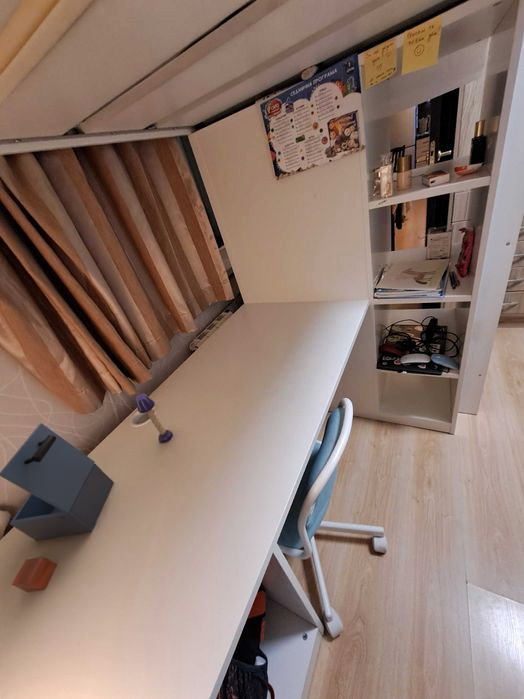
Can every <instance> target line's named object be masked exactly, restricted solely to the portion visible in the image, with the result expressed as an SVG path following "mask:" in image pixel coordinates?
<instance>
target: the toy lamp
mask: <svg viewBox="0 0 524 699" xmlns="http://www.w3.org/2000/svg"><path fill="white" fill-rule="evenodd" d="M134 401H135V405H136V408H137V411H138V413H139V414H146V415H147V416H148V417H149V419H150V421H151V423H152V424H153V425H154V427H155V428H156V430H157V432H158V433H159V434H158V442H160V443H161V444H162V443H167V442H168V441H170V440H171V439H172V437H173V432H172V431H171V430H170V429H165V428H164V426H163V425H162V423H161V421H160V420H159V418H158V417H157V414H155V412H154V410H153V409H154V407H155V404H156V402H155V401H154V400H153V399H152V398H151V397H150V396H148V395H147V394H145V393H140V394H139V395H137V396H136V397H135V400H134Z"/></svg>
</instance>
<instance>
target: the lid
mask: <svg viewBox="0 0 524 699" xmlns="http://www.w3.org/2000/svg"><path fill="white" fill-rule="evenodd" d="M94 464H96V461H94V460H93V459H92V458H91V457H89V456H87V455H86V454H85V453H84V452H82V451H81V450H80V449H78V448H77V447H75V446H74V445H73V444H71V443H70V442H69V441H67V440H66V439H64V438H63V437H62V436H60V435H59V434H58V433H56V432H55V431H54V430H52V429H50V428H49V427H48V426H46V425H45V424H44V423H42V422H41V423H39V424H38V425H37V426H36V428H35V429H34V430H33V432H32V433H31V434H30V435H29V436H28V438H26V439H25V441H24V443H23V444H22V445H21V446H20V447H19V448H18V449H17V451H16V452H15V453H14V455H13V456H12V457H11V458H10V460H9V461H8V462H7V463H6V464H5V466H4V467H3V468H2V470H1V471H0V477H1V478H2V479H5V480H6V481H8V482H10V483H12V484H13V485H15V486H17V487H19V488H20V489H22V490H23V491H25V492H27V493H29V494H30V493H31V494H33V495H34V496H36V497H38V498H40V499H41V500H43V501H45V502H47V503H48V504H50V505H52V506H54V507H56V508H57V509H59V510H61V511H63V512H64V513H68V512H69V510H70V508H71V507H72V505H73V503H74V501H75V499H76V497H77V495H78V493H79V492H80V490H81V488H82V486H83V484H84V482H85V480H86V478H87V476H88V475H89V473H90V471H91V469H92V467H93V465H94Z"/></svg>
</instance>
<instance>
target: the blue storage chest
mask: <svg viewBox="0 0 524 699" xmlns="http://www.w3.org/2000/svg"><path fill="white" fill-rule="evenodd" d="M114 483H115V482H114V481H113V480H112V478H111V477H110V476H108V475H107V474H106V473H105V472H104V471H103V470H102V469H101V468H100V466H98V465H97V464H96V463H94V465H93V467H92V469H91V471H90V473H89V475H88V476H87V478H86V480H85V482H84V484H83V486H82V488H81V490H80V492H79V493H78V495H77V497H76V499H75V501H74V503H73V505H72V507H71V508H70V510H69V512H68V513H64V512H63V511H61V510H59V509H57V508H56V507H54V506H52V505H50V504H48V503H47V502H45V501H43V500H41V499H40V498H38V497H36V496H34V495H33V494H31V493H29V494H28V496H27V497H26V499H25V500H24V502H23V503H22V504H21V506H20V508H19V509H18V511H17V512H16V513H15V515H14V517H13V518H12V520H11V521H10V523H9V525H10V526H12V527H13V528H15V529H16V530H18V531H20V532H21V533H23V534H24V535H26V536H27V537H29V538H31V539H32V540H34V541H35V542H38V541H44V540H50V539H51V540H52V539H56V538H64V537H69V536H75V535H83V534H88V533H93V531H94V528H95V526H96V523H97V521H98V519H99V518H100V515H101V512H102V510H103V508H104V506H105V503H106V501H107V499H108V496H109V494H110V492H111V490H112V487H113V485H114Z"/></svg>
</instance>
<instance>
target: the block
mask: <svg viewBox="0 0 524 699" xmlns="http://www.w3.org/2000/svg"><path fill="white" fill-rule="evenodd" d="M57 566H58V564H57V563H55V562H53V561H52V560H50V559H48V558H47V557H45V556H37V557H31V558H26V559H25V560H24V561H23V564H22V565H21V567H20V569H19V570H18V572H17V574H16V575H15V577H14V579H13V581H12V582H11V586H13V587H15V588H18V589H20V590H22V591H24V592H26V593H29V592H37V591H45V590H46V588H47V586H48V584H49V582H50V580H51V578H52V576H53V574H54V572H55V570H56V568H57Z"/></svg>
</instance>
